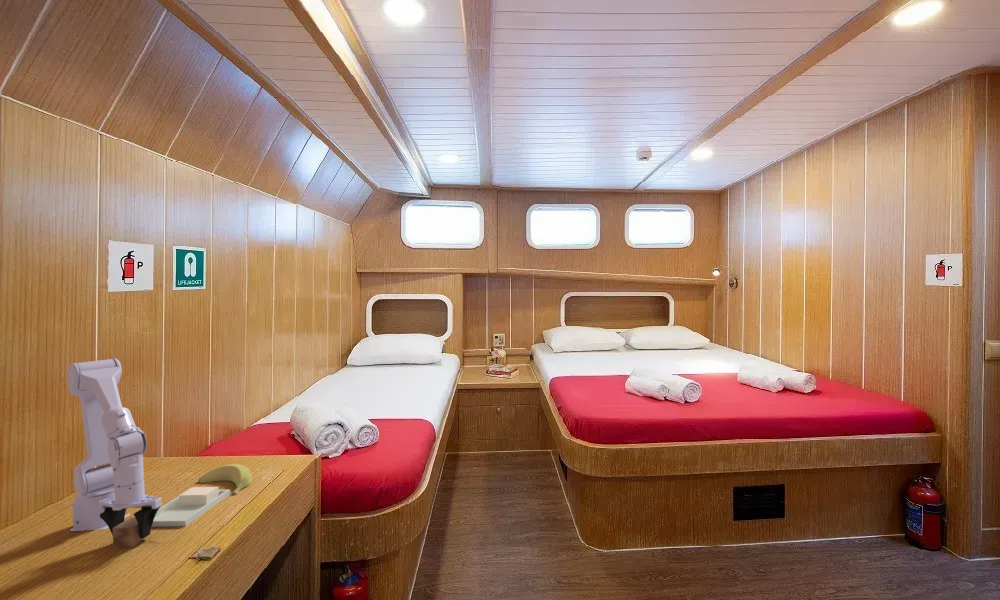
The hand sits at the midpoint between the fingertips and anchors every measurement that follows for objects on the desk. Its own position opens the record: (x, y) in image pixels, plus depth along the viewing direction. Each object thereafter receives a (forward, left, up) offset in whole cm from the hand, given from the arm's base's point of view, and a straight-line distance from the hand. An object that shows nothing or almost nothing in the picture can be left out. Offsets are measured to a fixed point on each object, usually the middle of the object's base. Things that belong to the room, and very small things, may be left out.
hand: (132, 536), depth 109 cm
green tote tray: (+2, +15, -1) cm, 15 cm away
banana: (+3, +30, -2) cm, 31 cm away
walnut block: (0, 0, -2) cm, 2 cm away
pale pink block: (+2, +20, -1) cm, 20 cm away
